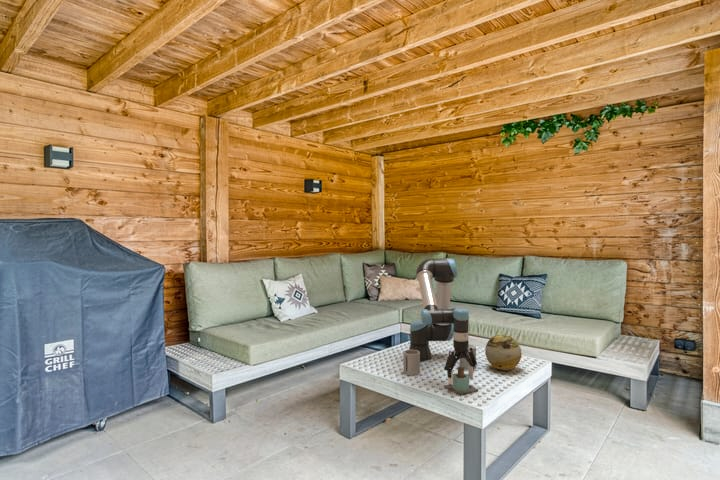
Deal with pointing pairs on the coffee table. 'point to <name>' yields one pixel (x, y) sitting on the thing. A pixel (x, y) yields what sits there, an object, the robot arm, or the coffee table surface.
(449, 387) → the post stand
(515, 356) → the decorative sphere
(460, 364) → the beige speckled cylinder
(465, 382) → the collar
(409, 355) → the cup
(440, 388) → the coffee table surface
